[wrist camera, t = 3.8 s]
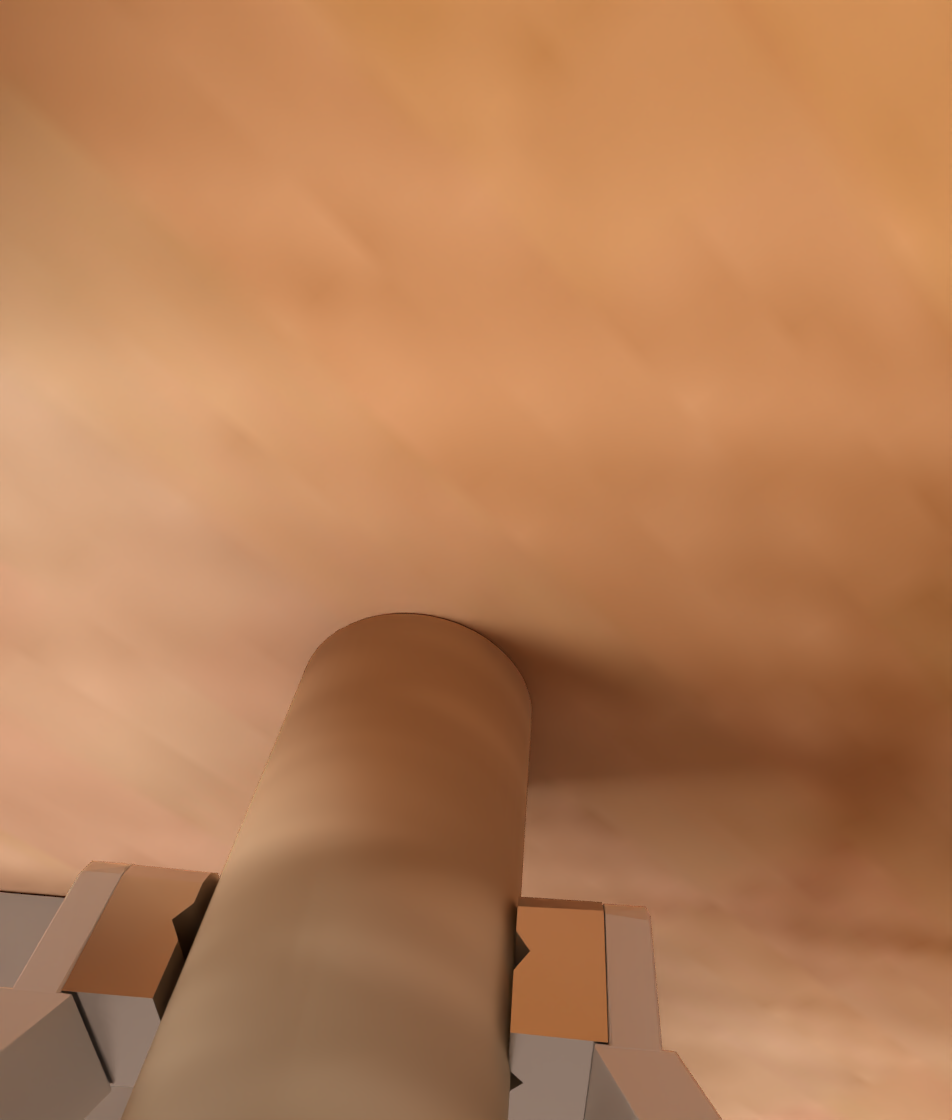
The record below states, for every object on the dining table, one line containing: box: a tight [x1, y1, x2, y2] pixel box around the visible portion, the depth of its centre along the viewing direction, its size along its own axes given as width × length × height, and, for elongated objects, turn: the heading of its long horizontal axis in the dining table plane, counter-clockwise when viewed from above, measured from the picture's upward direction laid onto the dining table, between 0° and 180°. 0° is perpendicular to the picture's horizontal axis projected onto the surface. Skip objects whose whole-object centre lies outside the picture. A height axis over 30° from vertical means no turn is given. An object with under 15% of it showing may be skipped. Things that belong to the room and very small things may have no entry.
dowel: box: [121, 614, 532, 1120], centre depth 10 cm, size 4×4×8 cm
